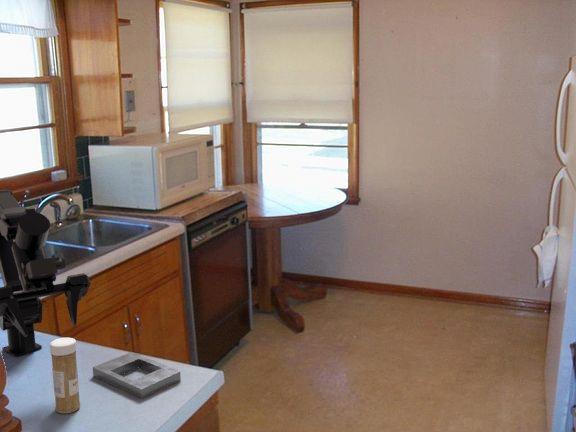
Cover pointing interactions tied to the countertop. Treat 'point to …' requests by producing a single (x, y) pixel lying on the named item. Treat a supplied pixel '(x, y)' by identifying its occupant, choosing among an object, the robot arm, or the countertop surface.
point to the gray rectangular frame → (141, 386)
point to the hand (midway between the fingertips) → (51, 330)
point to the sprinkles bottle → (65, 375)
